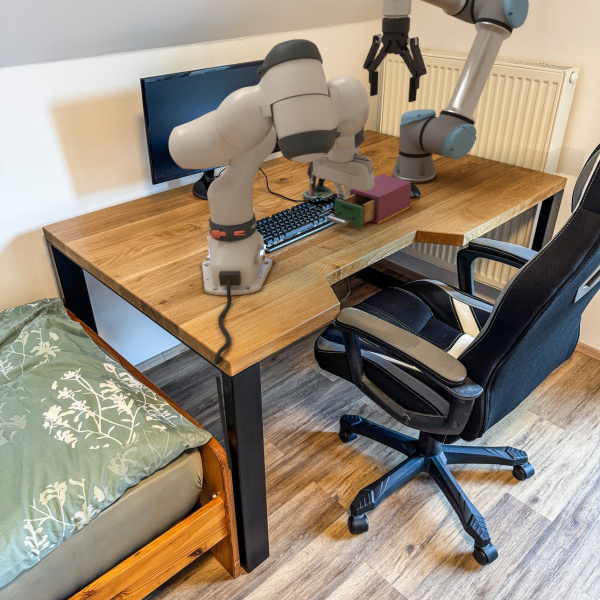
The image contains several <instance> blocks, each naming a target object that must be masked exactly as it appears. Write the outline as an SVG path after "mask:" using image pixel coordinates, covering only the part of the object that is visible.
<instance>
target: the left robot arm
mask: <svg viewBox="0 0 600 600" xmlns="http://www.w3.org/2000/svg"><path fill="white" fill-rule="evenodd" d="M323 63H324V61H323V57H322V55H321V52H320V50H319V47H318V45H317V44H316V43H314V42H313V41H311V40H309V39H304V38H293V39H292V38H291V39H287V40H284V41H282V42H279V43H277V44H275V45H274V46H273V47H272V48H271V49H270V50H269V51H268V53H267V54H266V56H265V57H264V60H263V63H262V66H259V67H258V68H257V70H256V74H257V76H258V77H260V81H259V83H258V84H256V85H252V86H245V87H241V88H239V89H237V90H234V91H232V92H231V93H230V94H228V95H227V96H226V97H225V98H224V99H223V100H222V101H221V103H220V104H219V106H218V107H217V108H216V109H213V110H212V111H209V112H208V113H205V114H203V115H201V116H200V117H197V118H195V119H193V120H191V121H188V122H186V123H182V124H180V125H177V126H175V127H174V128H173V129H172V131H171V133H170V135H169V138H168V150H169V154H170V156H171V158H172V160H173V161H174V163H175V164H176V165H178V167H180V168H181V169H184V170H206V169H212V168H218V167H219V168H220V167H224V166H226V167H225V169H224V171H222V173H221V175H219V176H218V177H217V178H215V179H214V180H213V181H211V183H210V185H209V187H208V189H207V191H206V195H207V203H208V212H209V218H208V229H209V234H208V235H207V236H206V243H207V249H208V255H206V256H205V260H204V261H203V262H202V263H201V268H202V278H203V290H204V292H205V293H207V294H210V295H214V296H226V297H227V298H226V299H227V301H226V305H225V307H224V308H223V310H222V312H221V313H220V314H219V316H218V318H217V319H218V320H217V322H218V326H219V329H220V330H221V332H222V333H223V335H224V337H225V343H224V344H223V345H222V346H221V347H219V349H218V350H217V351H216V353H215V357H214V363H213V365H214V366H217V365H219V363H220V357H221V355H222V354H223V352H224V351H226V350H227V349H228V348H229V346H230V344H231V336H230V333H229V331H228V330H227V328H226V326H225V325H224V322H223V320H224V317H225V316H226V314H227V313H228V311H229V310H230V307H231V305H232V296H239V295H240V296H241V295H249V294H253V293H256V292H259V291H260V290H261V288H262V287H263V286H264V283H265V280H266V278H267V276H268V274H269V273H270V271H271V268H272V266H273V265H274V264H273V260H272V259H271V258H268V257H266V244H265V242H264V235H263V234H262V233H260V232H259V231H258V230H257V218H256V214H255V212H254V200H253V191H254V190H253V188H254V182H255V179H256V176H257V174H258V171H259V169H260V167H261V166H262V165H263V163H264V162H265V160H266V159H267V158H268V157H269V156H270V155H272V153H273V152H274V150H275V148H276V144H277V145H278V147H279V150H280V153H281V155H282V157H283V158H285V159H286V160H288V161H290V162H295V163H303V164H304V163H305V164H306V163H307V164H308V162H312V161H313V173H314V175H315V177H317V178H318V179H319V178H321V179H324V180H325V181H328V182H331V183H333V186H334V189H335V192H336V197H337V199H341V200H343V199H345V200H346V199H348V198H349V196H350V190H351V189H352V188H355V189H358V190H362V191H368V190H370V189H372V188H373V187H374V185H375V180H374V178H375V172H374V171H375V170H374V162H373V161H372V159H371V158H370V157H369V156H366V155H362V154H360V146H361V145H362V144H363V143H364V142H365V141H366V133H365V126H366V124H367V122H368V119H369V116H370V112H371V104H370V103H371V101H370V95H369V93H368V91H367V88H366V87H365V86H364V84H363V83H362V82H361V81H360V80H359V79H358V78H356V77H354V76H351V75H348V74H341V75H337V76H334V77H332V78H330V79H329V80H328V81H327V79H326V75H325V71H324V68H323ZM277 138H278V140H277ZM317 178H316V179H317ZM221 380H222V379H221V375H220V376H219V375H217V376H215V382H216V391H217V400H218V406H219V407H218V408H219V417H220V423H221V429H222V435H223V441H224V449H225V454H226V461H227V462H226V463H227V468H228V470H230V471H231V470H233V463H232V456H231V448H230V442H229V436H228V430H227V429H228V428H227V423H226V415H225V409H224V407H225V406H224V399H223V390H222V381H221Z"/></svg>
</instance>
